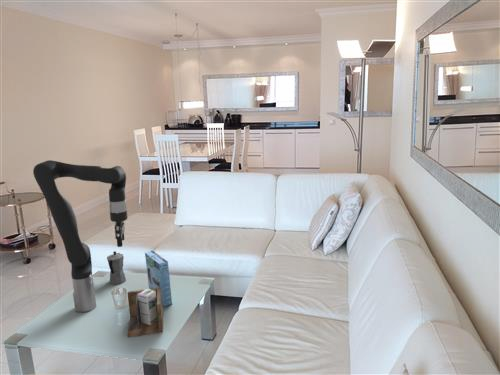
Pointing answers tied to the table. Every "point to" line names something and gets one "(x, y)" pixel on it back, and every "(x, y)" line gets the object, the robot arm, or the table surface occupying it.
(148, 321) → the syrup box
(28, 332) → the table surface
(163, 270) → the gum box
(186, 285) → the table surface
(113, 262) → the coffeepot
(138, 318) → the bookshelf
